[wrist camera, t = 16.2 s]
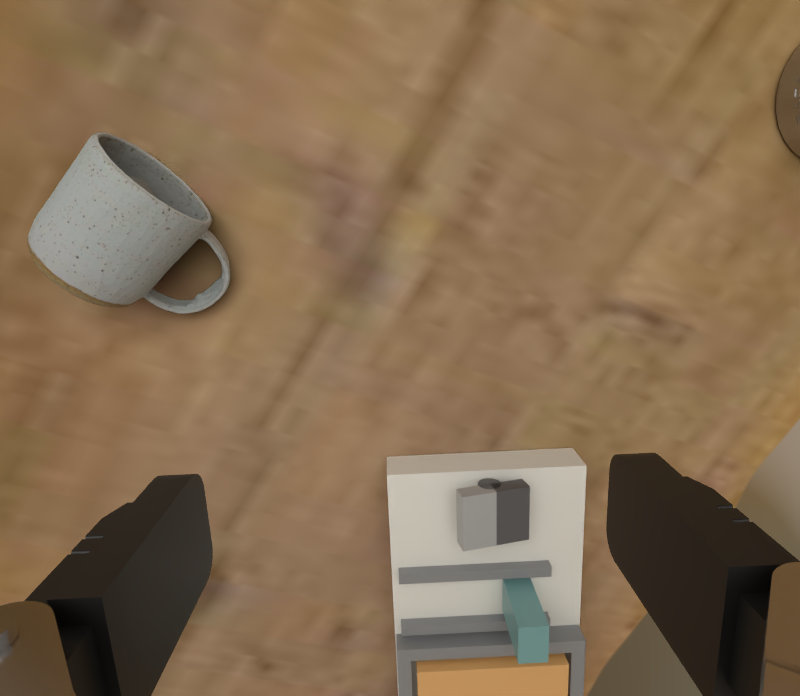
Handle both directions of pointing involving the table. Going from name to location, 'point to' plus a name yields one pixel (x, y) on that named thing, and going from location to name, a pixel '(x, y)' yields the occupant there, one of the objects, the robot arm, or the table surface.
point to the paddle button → (493, 677)
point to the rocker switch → (492, 513)
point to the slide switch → (525, 621)
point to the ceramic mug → (122, 228)
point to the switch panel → (483, 558)
